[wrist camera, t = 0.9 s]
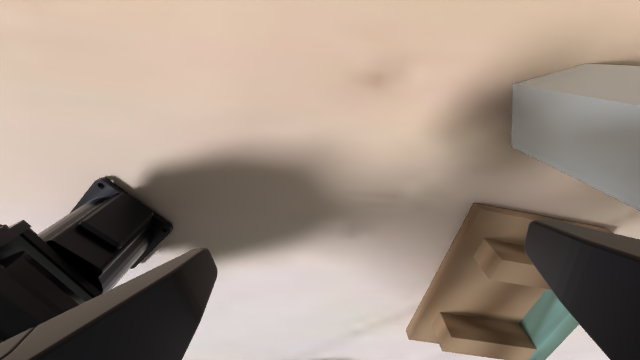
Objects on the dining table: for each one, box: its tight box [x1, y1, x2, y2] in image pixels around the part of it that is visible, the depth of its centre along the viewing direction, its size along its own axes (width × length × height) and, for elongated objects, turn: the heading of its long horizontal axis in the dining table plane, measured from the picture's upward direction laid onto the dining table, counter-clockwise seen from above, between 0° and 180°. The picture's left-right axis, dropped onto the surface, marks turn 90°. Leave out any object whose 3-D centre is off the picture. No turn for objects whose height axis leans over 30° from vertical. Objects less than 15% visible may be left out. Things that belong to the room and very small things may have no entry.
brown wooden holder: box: [406, 203, 614, 360], centre depth 24 cm, size 12×16×4 cm
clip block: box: [511, 64, 640, 211], centre depth 14 cm, size 4×4×9 cm
